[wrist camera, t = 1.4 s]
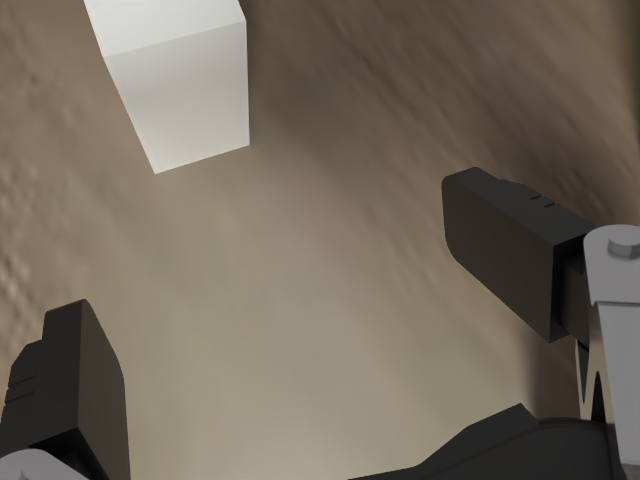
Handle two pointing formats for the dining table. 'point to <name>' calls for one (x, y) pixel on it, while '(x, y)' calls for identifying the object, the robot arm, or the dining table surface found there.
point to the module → (178, 74)
